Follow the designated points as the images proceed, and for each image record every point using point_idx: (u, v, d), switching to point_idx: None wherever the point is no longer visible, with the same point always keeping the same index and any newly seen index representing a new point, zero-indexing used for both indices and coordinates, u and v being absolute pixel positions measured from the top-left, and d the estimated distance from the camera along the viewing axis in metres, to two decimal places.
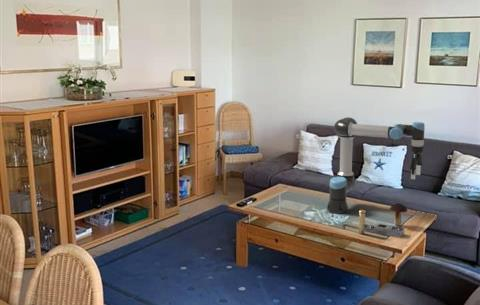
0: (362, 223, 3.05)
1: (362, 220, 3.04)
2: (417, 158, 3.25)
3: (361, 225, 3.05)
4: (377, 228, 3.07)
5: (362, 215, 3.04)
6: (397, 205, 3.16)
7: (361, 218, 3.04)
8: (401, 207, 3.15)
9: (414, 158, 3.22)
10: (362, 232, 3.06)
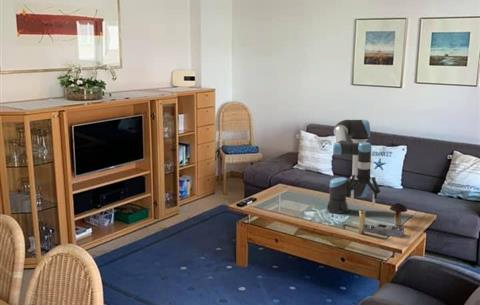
0: (362, 223, 3.05)
1: (362, 220, 3.04)
2: (357, 180, 3.01)
3: (361, 225, 3.05)
4: (377, 228, 3.07)
5: (362, 215, 3.04)
6: (397, 205, 3.16)
7: (361, 218, 3.04)
8: (401, 207, 3.15)
9: None
10: (362, 232, 3.06)
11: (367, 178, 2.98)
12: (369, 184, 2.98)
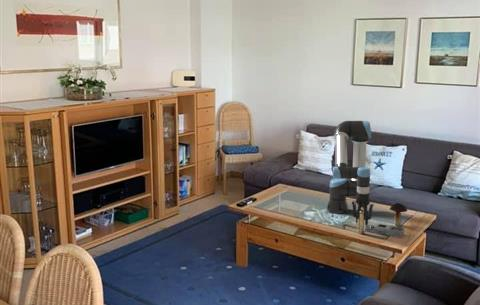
0: (362, 223, 3.05)
1: (362, 220, 3.04)
2: (358, 206, 3.04)
3: (361, 225, 3.05)
4: (377, 228, 3.07)
5: (362, 215, 3.04)
6: (397, 205, 3.16)
7: (361, 218, 3.04)
8: (401, 207, 3.15)
9: None
10: (362, 232, 3.06)
11: (366, 202, 3.01)
12: (365, 209, 3.02)
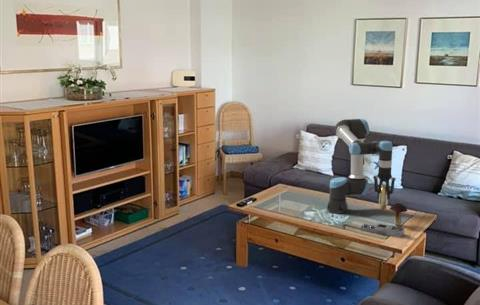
0: (384, 197, 3.03)
1: (384, 194, 3.03)
2: (380, 180, 3.03)
3: (383, 199, 3.04)
4: (377, 228, 3.07)
5: (384, 189, 3.02)
6: (397, 205, 3.16)
7: (383, 192, 3.03)
8: (401, 207, 3.15)
9: None
10: (384, 207, 3.04)
11: (388, 176, 3.00)
12: (387, 184, 3.01)
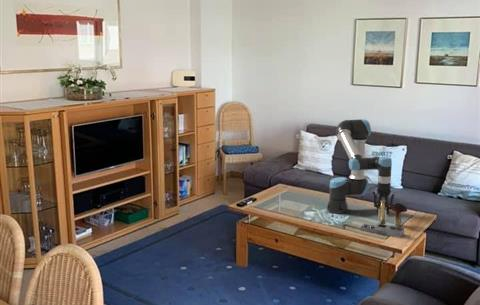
0: (383, 213, 3.05)
1: (383, 209, 3.05)
2: (379, 196, 3.05)
3: (382, 215, 3.06)
4: (377, 228, 3.07)
5: (383, 205, 3.04)
6: (397, 205, 3.16)
7: (382, 208, 3.05)
8: (401, 207, 3.15)
9: None
10: (383, 222, 3.06)
11: (387, 192, 3.02)
12: (386, 199, 3.03)
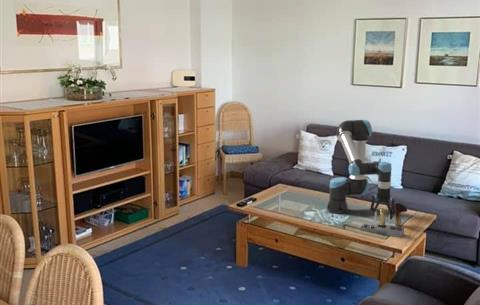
0: (383, 222, 3.07)
1: (383, 218, 3.06)
2: (378, 200, 3.06)
3: (382, 224, 3.07)
4: (377, 228, 3.07)
5: (383, 214, 3.06)
6: (397, 205, 3.16)
7: (382, 217, 3.06)
8: (401, 207, 3.15)
9: None
10: None
11: (387, 197, 3.03)
12: (387, 204, 3.03)
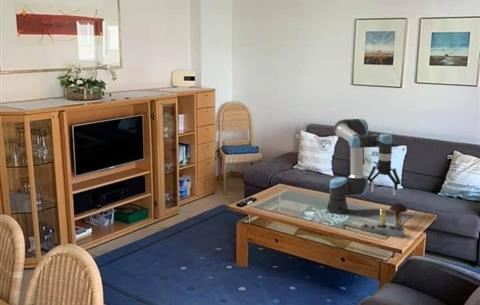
0: (383, 222, 3.07)
1: (383, 218, 3.06)
2: (378, 172, 3.04)
3: (382, 224, 3.07)
4: (377, 228, 3.07)
5: (383, 214, 3.06)
6: (397, 205, 3.16)
7: (382, 217, 3.06)
8: (401, 207, 3.15)
9: None
10: None
11: (388, 169, 3.00)
12: (390, 175, 3.00)
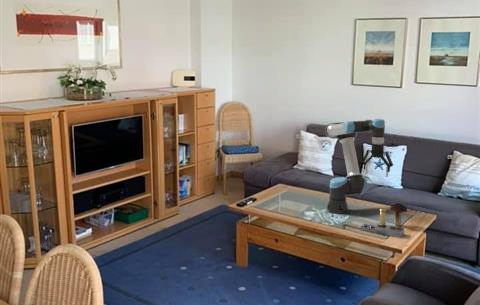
0: (383, 222, 3.07)
1: (383, 218, 3.06)
2: (371, 155, 3.20)
3: (382, 224, 3.07)
4: (377, 228, 3.07)
5: (383, 214, 3.06)
6: (397, 205, 3.16)
7: (382, 217, 3.06)
8: (401, 207, 3.15)
9: None
10: None
11: (381, 152, 3.16)
12: (382, 158, 3.16)
